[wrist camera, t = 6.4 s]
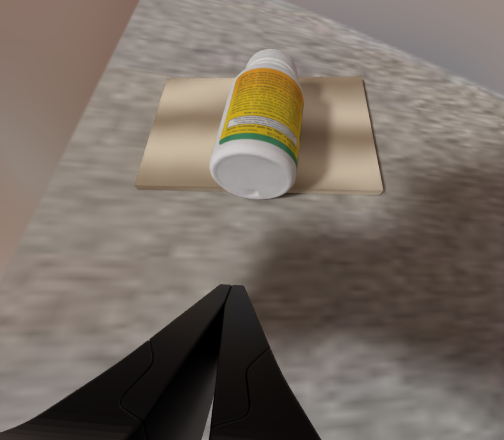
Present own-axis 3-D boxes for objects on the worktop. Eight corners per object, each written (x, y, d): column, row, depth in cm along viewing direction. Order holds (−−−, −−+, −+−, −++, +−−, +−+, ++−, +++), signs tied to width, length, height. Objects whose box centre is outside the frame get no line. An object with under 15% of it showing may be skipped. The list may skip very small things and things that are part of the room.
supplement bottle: (195, 180, 16) (224, 82, 20) (263, 209, 18) (277, 115, 22) (232, 132, 12) (260, 19, 16) (316, 178, 14) (322, 69, 18)
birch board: (379, 195, 18) (383, 190, 17) (138, 189, 19) (134, 185, 18) (359, 82, 23) (361, 76, 22) (169, 84, 24) (167, 78, 24)
